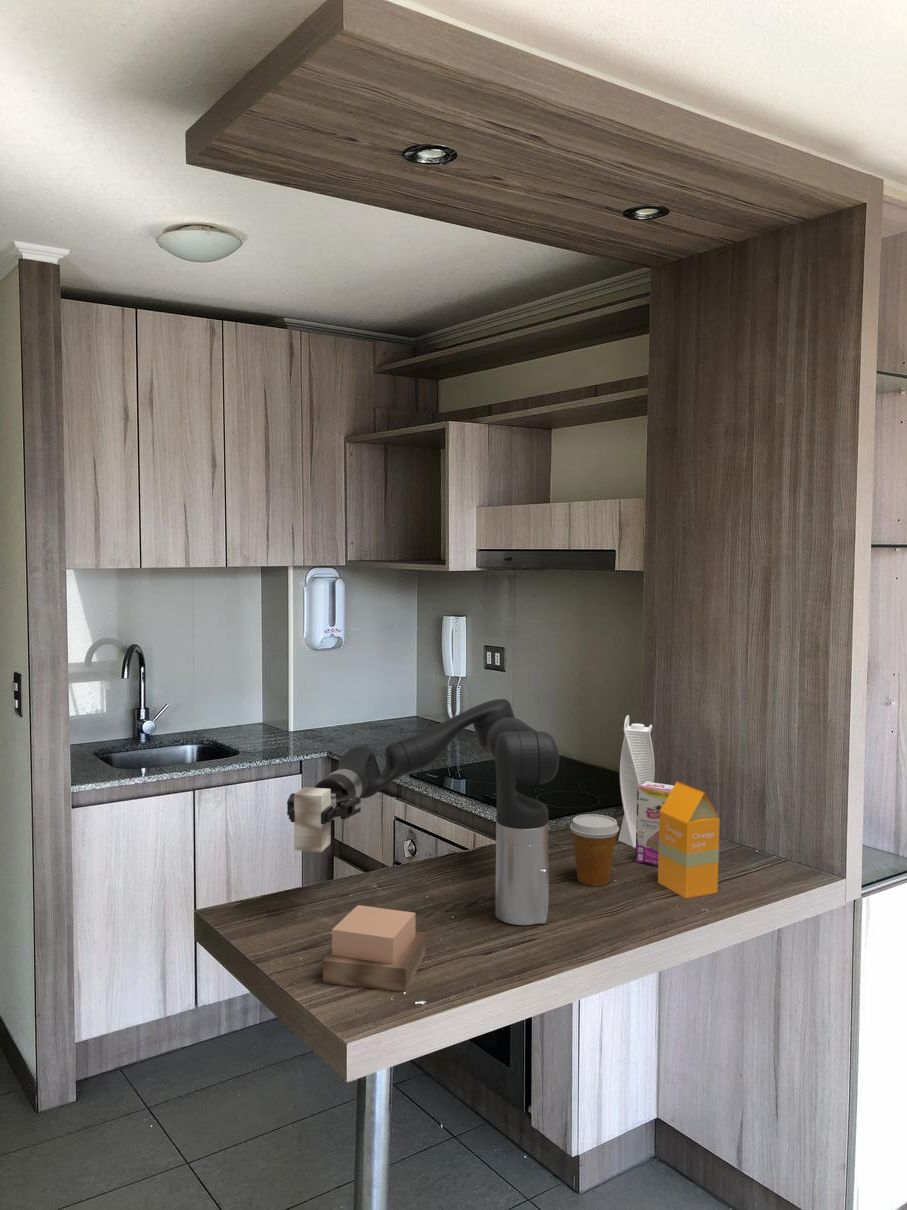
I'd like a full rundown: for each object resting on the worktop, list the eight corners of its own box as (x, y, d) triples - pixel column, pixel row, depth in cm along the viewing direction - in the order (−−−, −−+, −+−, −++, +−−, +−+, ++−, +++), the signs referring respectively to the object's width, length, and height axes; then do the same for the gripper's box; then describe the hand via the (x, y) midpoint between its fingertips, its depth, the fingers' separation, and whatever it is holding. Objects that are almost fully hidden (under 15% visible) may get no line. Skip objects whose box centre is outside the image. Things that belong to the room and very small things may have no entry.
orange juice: (685, 898, 178) (687, 794, 176) (656, 882, 186) (659, 782, 184) (718, 892, 181) (721, 789, 179) (689, 876, 189) (692, 778, 188)
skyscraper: (610, 839, 212) (612, 715, 209) (637, 834, 215) (639, 712, 213) (632, 850, 205) (635, 722, 202) (659, 845, 208) (662, 719, 206)
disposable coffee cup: (586, 868, 194) (587, 810, 193) (627, 879, 187) (628, 820, 186) (559, 880, 186) (560, 821, 185) (601, 893, 180) (602, 831, 179)
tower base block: (425, 956, 154) (425, 932, 154) (405, 994, 142) (405, 968, 141) (349, 948, 157) (348, 925, 156) (322, 985, 144) (322, 960, 144)
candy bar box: (634, 862, 197) (636, 785, 196) (643, 855, 201) (644, 780, 200) (686, 873, 191) (688, 793, 190) (694, 866, 195) (696, 788, 194)
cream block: (330, 843, 171) (330, 788, 170) (321, 852, 166) (321, 796, 165) (304, 841, 172) (304, 787, 171) (294, 850, 167) (294, 794, 166)
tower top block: (415, 937, 152) (415, 912, 152) (393, 964, 143) (393, 938, 142) (357, 928, 155) (357, 905, 155) (332, 954, 146) (332, 929, 145)
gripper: (373, 814, 181) (346, 841, 164) (302, 809, 184) (268, 835, 167) (373, 775, 181) (346, 799, 164) (302, 771, 183) (268, 794, 167)
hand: (307, 817), depth 166 cm, fingers closed on cream block, 5 cm apart
